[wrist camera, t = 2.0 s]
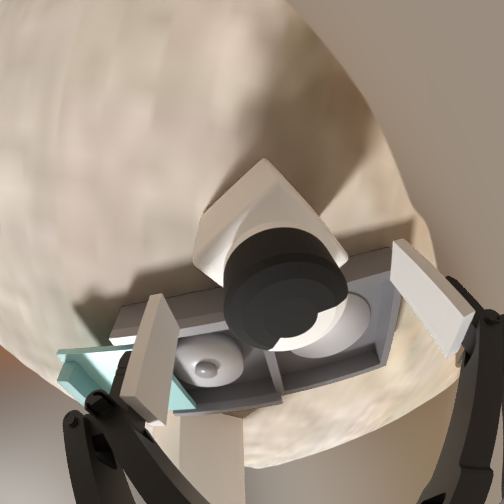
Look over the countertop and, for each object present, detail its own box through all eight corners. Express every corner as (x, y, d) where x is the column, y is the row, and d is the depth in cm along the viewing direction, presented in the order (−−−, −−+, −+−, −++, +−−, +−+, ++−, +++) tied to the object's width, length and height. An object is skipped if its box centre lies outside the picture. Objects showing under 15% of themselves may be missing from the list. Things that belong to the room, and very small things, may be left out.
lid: (58, 349, 24) (47, 374, 20) (150, 341, 23) (142, 373, 20) (112, 405, 30) (107, 427, 27) (195, 403, 29) (195, 429, 26)
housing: (121, 306, 26) (108, 338, 22) (388, 246, 25) (412, 272, 21) (178, 388, 34) (176, 416, 30) (376, 346, 33) (389, 372, 29)
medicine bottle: (199, 216, 22) (177, 322, 11) (263, 155, 20) (306, 212, 9) (258, 268, 25) (279, 380, 14) (319, 216, 23) (386, 310, 12)
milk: (181, 401, 36) (178, 558, 13) (242, 418, 40) (256, 555, 17) (153, 422, 40) (146, 547, 17) (207, 437, 44) (211, 551, 22)
